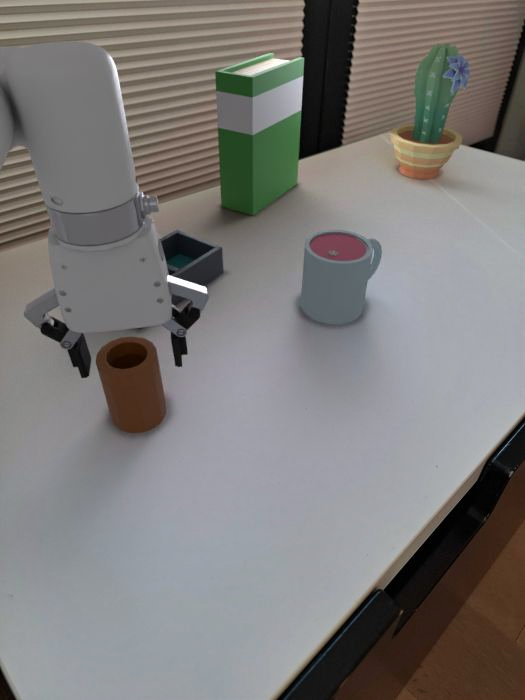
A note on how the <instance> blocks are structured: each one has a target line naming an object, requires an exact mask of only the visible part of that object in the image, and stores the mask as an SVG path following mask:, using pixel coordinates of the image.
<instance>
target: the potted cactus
mask: <svg viewBox="0 0 525 700" xmlns="http://www.w3.org/2000/svg"><path fill="white" fill-rule="evenodd" d="M470 76H471V69H470V63H469V61H468V60H467V59H465V57H464V56H463V55H462V54H461V53H460V52H459V50H458V47H457V45H456V44H455V45H450V43H444V45H442V44H440V43H436V44H435V45H433V47H432V48H431V49H430V50H429V51H428V52H427V54H426V55H425V56H424V57H423V59H421V61H420V63H419V64H418V66H417V67H416V70H415V76H414V85H413V96H414V102H415V109H414V110H415V111H414V121H413V123H410V124H401V125H398V126H395V127H393V128H392V129H391V131H390V142H391V143H392V144H393V149H394V150H393V151H394V156H395V158H396V160H397V162H398V164H399V167H398V172H399V173H400V174H402V175H403V176H405V177H409V178H412V179H421V180H427V179H434V178H435V177H437V176H439V171H440V169H441V168H442V167H444V166H445V165H446V164H447V163H448V162H449V160H450V159H451V157H452V155H453V154H454V152H455V151H456V150H459V148H460V146H461V144H462V143H463V135H462V134H460V133H459V132H457V131H456V130H453V129H451V128H447V127H445V125H446V122H447V118H448V115H449V110H450V108H451V105H452V103H453V101H454V99H455V98H456V95H457V94H458V92H459V89H460V87H462V90H465V89H466V88H467V84H468V80H469V78H470Z"/></svg>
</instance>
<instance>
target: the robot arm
mask: <svg viewBox="0 0 525 700" xmlns="http://www.w3.org/2000/svg"><path fill="white" fill-rule="evenodd" d="M123 100H124V99H123V95H122V89H121V84H120V79H119V74H118V70H117V66H116V63H115V61H114V59H113V57H112V56H111V54H109V52H108V51H107V50H106V49H105V48H103V47H102V46H100V45H97V44H94V43H90V42H85V41H51V42H43V43H37V44H32V45H28V46H24V47H22V46H21V47H20V46H19V47H17V46H3V45H0V171H2V168H3V166H4V165H5V162H6V159H7V157H8V154H9V152H11V151H12V150H14V149H15V148H17V147H23V148H25V149H26V150H27V151H28V154H29V157H30V160H31V163H32V167H33V170H34V174H35V177H36V180H37V183H38V185H39V189H40V192H41V196H42V199H43V202H44V203H43V204H44V205H45V209H46V212H47V215H48V219H49V222H50V225H51V226H50V227H49V229H48V233H47V248H48V255H49V256H48V257H49V263H50V269H51V276H52V280H53V285H54V288H51V289H50V290H48V291H47V292H45V293H43V294H42V295H40V296H38V297H36V298H35V299H34V300H32V301H30V302H28V303H27V304H26V305H25V308H24V311H23V317H24V318H25V319H26V320H28V321H29V322H30V323H31V324H32V325H33V326H34V327H35V328H38V330H40V333H41V334H42V335H43V336H45V337H47V338H49V339H51V340H53V341H55V342H56V343H59V346H60V348H61V349H63V350H66V352H67V353H68V354H67V355H68V356H69V360H70V362H71V365H72V367H73V368H77V369H78V372H79V375H80V378H81V379H87V378H88V377H90V372H91V366H92V355H91V352H90V350H89V349H90V348H89V345H88V342H87V339H86V336H85V334H92V333H102V332H103V333H104V332H113V331H124V330H132V329H137V328H142V327H144V328H148V327H156V326H161V327H163V328H165V329H166V330H167V331H169V332H170V342H171V348H172V354H173V360H174V366H175V367H177V368H181V367H183V356H185V355H186V356H188V353H189V352H188V342H187V335H188V330H189V329H190V328H192V326H193V325H194V324H195V323H197V321H199V320H200V318H201V314H202V311H204V309H205V307H206V305H207V303H208V301H209V299H210V296H209V295H210V294H209V289H208V287H206V286H201V285H198V284H195V283H192V282H189V281H185V280H182V279H179V278H176V277H173V276H170V275H169V273H168V269H167V264H166V259H165V255H164V251H163V247H162V244H161V240H160V239H161V237H160V234H159V232H158V229H157V226H156V224H155V222H154V219H153V217H151V216H150V215H151V214H152V213H160V205H159V198H158V195H152V196H149V195H148V194H144V192H143V191H141V189H140V185H139V184H138V179H137V174H136V173H137V172H136V168H135V163H134V157H133V152H132V146H131V141H130V140H131V139H130V134H129V129H128V122H127V117H126V113H125V112H126V111H125V107H124V101H123ZM172 294H173V295H176V296H180V297H183V298H186V299H185V300H189V301H190V302H188V303H187V304H186V305H185V307H183V309H180V308H178V307H177V305H176V306H174V305H173V304H172V302H171V299H172ZM58 307H59V310H60V314H61V317H62V319H63V321H61V320H60V319H58V318H56V317H54V316H52V315H49V312H50V311H51V312H52V311H53V310H54V309H56V308H58ZM142 329H143V328H142Z"/></svg>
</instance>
